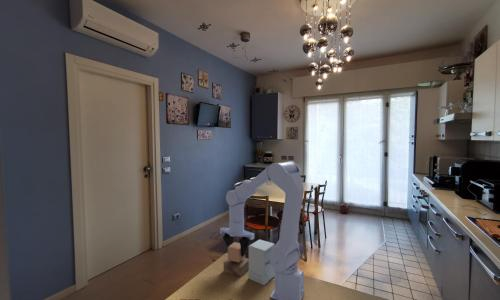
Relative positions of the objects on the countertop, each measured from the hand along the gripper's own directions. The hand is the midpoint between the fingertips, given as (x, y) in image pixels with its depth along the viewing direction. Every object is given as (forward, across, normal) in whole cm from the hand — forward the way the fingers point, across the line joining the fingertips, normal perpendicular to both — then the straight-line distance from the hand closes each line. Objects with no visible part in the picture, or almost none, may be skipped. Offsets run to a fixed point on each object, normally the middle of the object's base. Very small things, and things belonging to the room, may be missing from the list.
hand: (236, 253), depth 93 cm
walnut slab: (+7, 0, 0) cm, 7 cm away
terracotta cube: (+2, 0, 0) cm, 2 cm away
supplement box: (+7, +11, 0) cm, 13 cm away
